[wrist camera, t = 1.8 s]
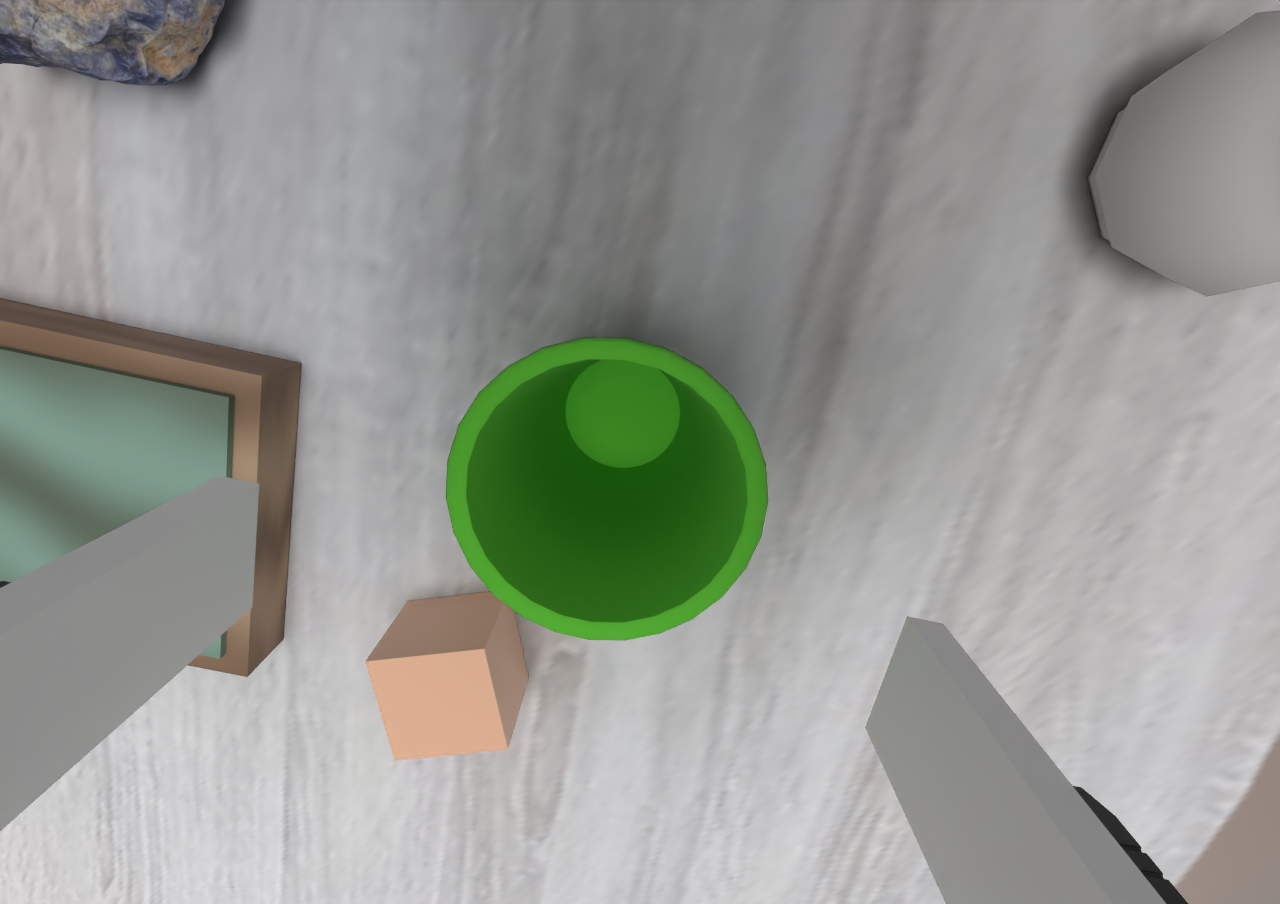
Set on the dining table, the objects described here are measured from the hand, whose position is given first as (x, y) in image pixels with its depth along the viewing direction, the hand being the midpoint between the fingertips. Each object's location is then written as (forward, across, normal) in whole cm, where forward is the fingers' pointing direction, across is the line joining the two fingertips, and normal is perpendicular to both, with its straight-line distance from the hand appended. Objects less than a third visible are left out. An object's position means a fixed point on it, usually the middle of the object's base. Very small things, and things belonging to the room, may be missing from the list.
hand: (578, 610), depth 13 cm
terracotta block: (+17, -5, -13) cm, 21 cm away
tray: (+16, -21, -8) cm, 28 cm away
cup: (+17, 0, 0) cm, 17 cm away
